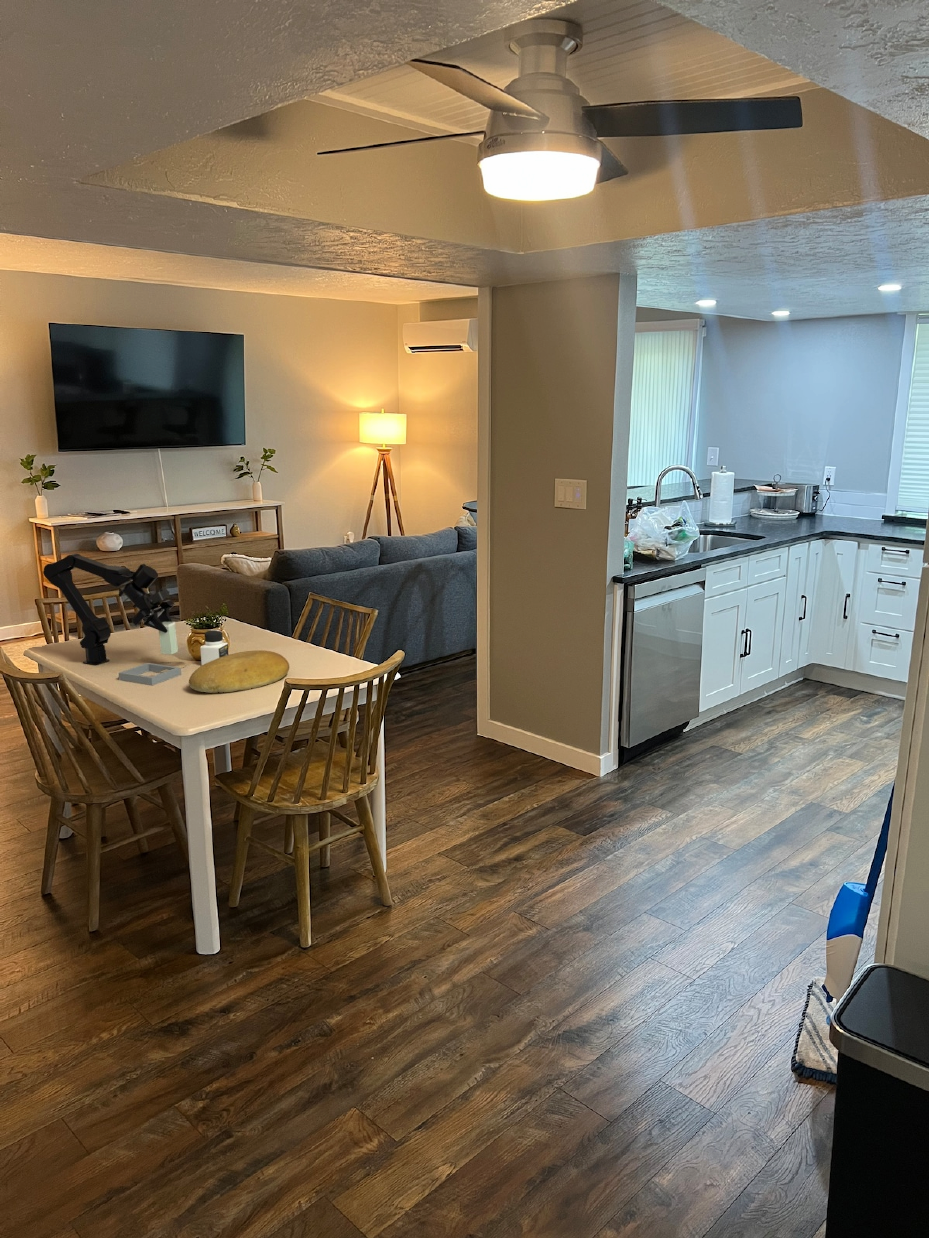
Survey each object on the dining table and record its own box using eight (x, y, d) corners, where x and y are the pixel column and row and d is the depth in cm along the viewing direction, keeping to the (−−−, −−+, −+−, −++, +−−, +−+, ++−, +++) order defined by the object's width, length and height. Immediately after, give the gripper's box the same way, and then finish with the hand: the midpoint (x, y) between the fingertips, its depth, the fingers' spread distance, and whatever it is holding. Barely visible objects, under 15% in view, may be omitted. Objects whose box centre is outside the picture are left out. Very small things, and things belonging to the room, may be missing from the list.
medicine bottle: (220, 667, 318) (218, 634, 315) (201, 666, 319) (198, 633, 316) (229, 661, 325) (227, 629, 322) (210, 660, 326) (208, 628, 323)
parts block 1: (145, 683, 301) (144, 677, 300) (151, 680, 304) (151, 674, 303) (152, 684, 300) (151, 678, 299) (158, 681, 302) (158, 675, 302)
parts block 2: (160, 677, 307) (160, 671, 307) (166, 675, 310) (166, 669, 309) (167, 678, 306) (167, 672, 305) (173, 676, 309) (173, 670, 308)
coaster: (149, 668, 317) (149, 667, 317) (170, 661, 325) (170, 660, 325) (172, 671, 312) (171, 670, 312) (192, 664, 321) (192, 663, 321)
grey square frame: (119, 680, 303) (118, 672, 303) (148, 669, 315) (148, 662, 315) (152, 685, 297) (151, 678, 297) (181, 674, 309) (180, 667, 309)
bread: (179, 690, 293) (177, 660, 291) (269, 667, 319) (267, 639, 317) (212, 701, 282) (209, 670, 279) (302, 677, 307) (300, 648, 305)
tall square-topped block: (161, 654, 315) (157, 624, 313) (167, 650, 319) (164, 621, 317) (171, 654, 314) (168, 624, 312) (178, 651, 318) (174, 621, 316)
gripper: (137, 587, 303) (169, 621, 303) (167, 577, 321) (198, 609, 321) (118, 608, 307) (149, 642, 307) (149, 597, 324) (179, 629, 324)
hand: (170, 630), depth 314 cm, fingers closed on tall square-topped block, 4 cm apart
